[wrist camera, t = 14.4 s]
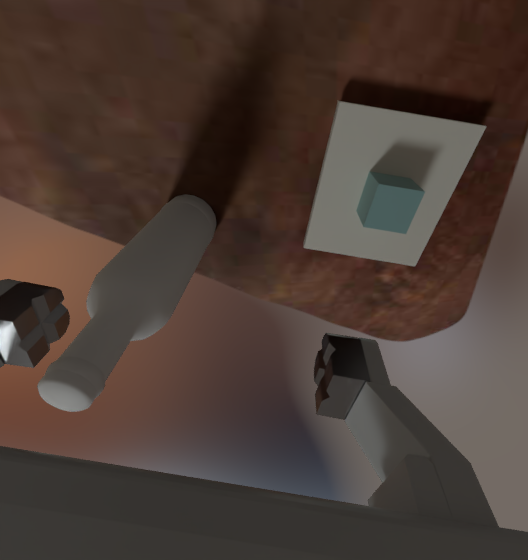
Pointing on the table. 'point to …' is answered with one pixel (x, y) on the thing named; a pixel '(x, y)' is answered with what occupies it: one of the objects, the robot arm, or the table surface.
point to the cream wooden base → (393, 161)
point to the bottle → (131, 300)
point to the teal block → (389, 202)
